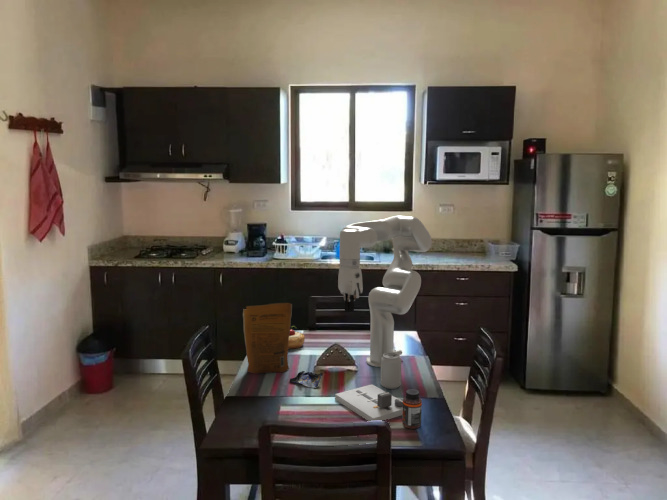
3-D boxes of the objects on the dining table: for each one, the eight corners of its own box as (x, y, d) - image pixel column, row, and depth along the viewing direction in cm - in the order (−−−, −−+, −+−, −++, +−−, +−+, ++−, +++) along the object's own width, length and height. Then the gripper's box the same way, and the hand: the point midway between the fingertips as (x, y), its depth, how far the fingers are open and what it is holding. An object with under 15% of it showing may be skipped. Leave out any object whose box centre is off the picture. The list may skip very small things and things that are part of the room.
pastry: (273, 348, 252) (271, 328, 251) (288, 340, 262) (287, 321, 260) (294, 351, 246) (293, 332, 244) (310, 343, 256) (309, 325, 254)
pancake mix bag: (293, 373, 221) (292, 304, 216) (244, 376, 218) (242, 306, 214) (292, 367, 227) (291, 299, 223) (244, 369, 225) (242, 301, 220)
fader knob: (386, 403, 189) (387, 391, 188) (391, 405, 187) (391, 393, 186) (377, 405, 187) (377, 393, 186) (381, 408, 185) (382, 396, 184)
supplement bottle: (400, 421, 181) (401, 387, 180) (418, 420, 182) (419, 387, 180) (404, 429, 176) (405, 395, 174) (423, 429, 176) (424, 395, 174)
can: (402, 383, 212) (403, 352, 210) (398, 391, 205) (399, 359, 203) (383, 380, 214) (383, 350, 212) (378, 388, 207) (378, 357, 205)
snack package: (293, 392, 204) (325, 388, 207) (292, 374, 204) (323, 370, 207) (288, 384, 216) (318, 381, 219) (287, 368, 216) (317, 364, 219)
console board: (371, 389, 206) (372, 379, 205) (411, 412, 188) (411, 401, 187) (335, 399, 197) (335, 389, 197) (373, 424, 179) (373, 413, 179)
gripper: (370, 265, 203) (369, 314, 206) (346, 258, 216) (346, 305, 219) (353, 267, 199) (352, 317, 202) (330, 260, 211) (330, 308, 215)
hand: (349, 311), depth 210 cm, fingers closed
